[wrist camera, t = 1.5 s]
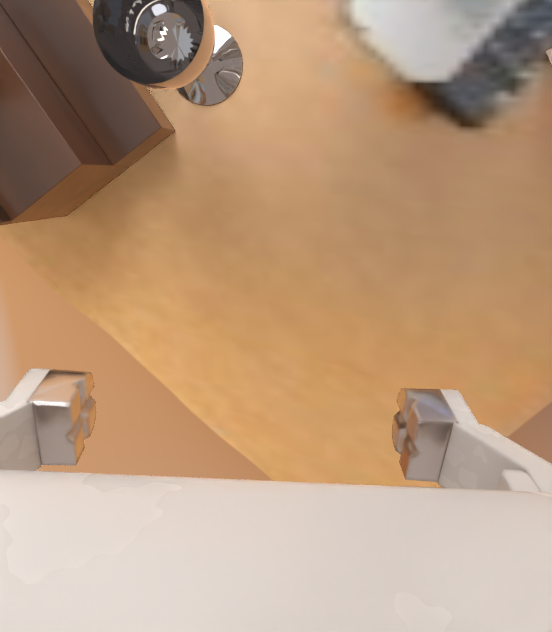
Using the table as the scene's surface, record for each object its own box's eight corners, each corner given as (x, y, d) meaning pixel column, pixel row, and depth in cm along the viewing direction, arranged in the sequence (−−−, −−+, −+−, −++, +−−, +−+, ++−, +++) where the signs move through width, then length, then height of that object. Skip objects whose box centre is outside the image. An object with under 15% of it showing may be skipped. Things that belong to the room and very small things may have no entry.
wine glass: (161, 103, 52) (88, 75, 37) (169, 13, 50) (95, -53, 35) (240, 115, 51) (197, 92, 37) (252, 25, 49) (211, -38, 35)
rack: (64, -36, 50) (-18, -96, 39) (175, 130, 52) (128, 118, 41) (-43, 66, 54) (-145, 37, 43) (66, 216, 56) (-4, 226, 45)
